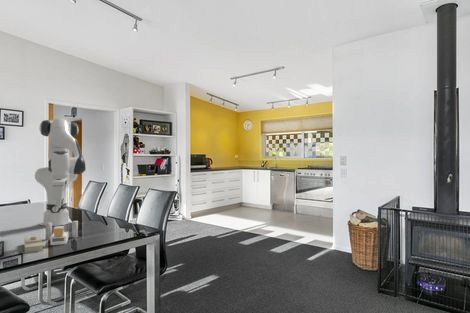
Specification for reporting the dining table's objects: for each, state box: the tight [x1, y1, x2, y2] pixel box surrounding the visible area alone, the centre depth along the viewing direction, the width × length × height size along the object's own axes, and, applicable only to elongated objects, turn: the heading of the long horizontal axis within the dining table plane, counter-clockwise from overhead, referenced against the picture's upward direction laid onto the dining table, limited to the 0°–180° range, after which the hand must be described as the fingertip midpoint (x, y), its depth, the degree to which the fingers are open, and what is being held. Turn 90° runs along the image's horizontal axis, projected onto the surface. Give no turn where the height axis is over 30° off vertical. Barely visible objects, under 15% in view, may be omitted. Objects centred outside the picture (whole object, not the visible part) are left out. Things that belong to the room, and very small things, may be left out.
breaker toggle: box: [53, 225, 65, 236], centre depth 161 cm, size 2×4×4 cm, turn 113°
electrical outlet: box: [23, 235, 44, 254], centre depth 154 cm, size 7×4×18 cm
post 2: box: [71, 220, 79, 239], centre depth 174 cm, size 3×3×9 cm
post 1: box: [45, 223, 53, 241], centre depth 169 cm, size 3×3×9 cm
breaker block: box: [49, 230, 70, 246], centre depth 164 cm, size 12×7×4 cm, turn 23°
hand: (59, 206), depth 164 cm, fingers open, 8 cm apart
